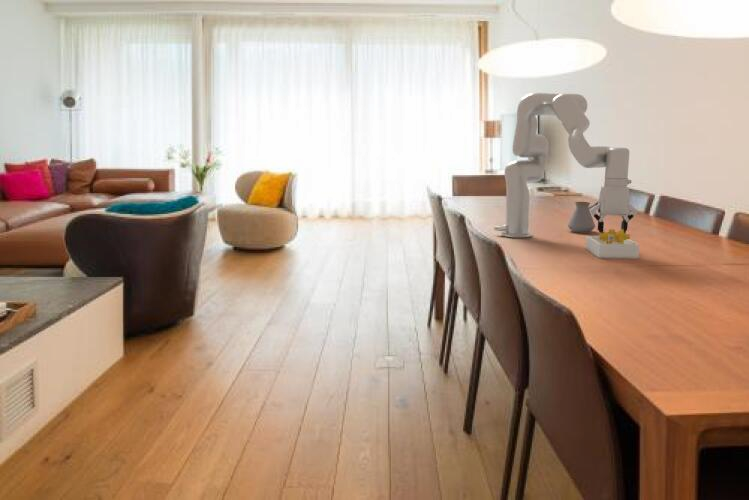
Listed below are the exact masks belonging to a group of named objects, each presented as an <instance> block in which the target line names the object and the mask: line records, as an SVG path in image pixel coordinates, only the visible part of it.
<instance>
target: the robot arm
mask: <svg viewBox="0 0 749 500" xmlns="http://www.w3.org/2000/svg"><path fill="white" fill-rule="evenodd" d="M587 109H588V101H587V99H586V97H584V96H583V95H582V94H579V93H549V92H548V93H547V92H533V93H528V94H526V95H524V96H523V97H522V98H521V99H520V101H519V102H518V105H517V110H516V124H515V128H514V129H515V130H514V136H513V141H512V153H513V155H514V157H517V158H527V159H518V160H513V161H510V162H509V163H508V164H506V166H505V168H504V180H505V187H506V196H505V197H506V198H505V199H506V201H505V223H504V224H503V225H500V226H499V225H494V226H493V231H494V232H495V231H496V232H497V231H498V232H501V236H503V237H507V238H514V239H515V238H519V239H520V238H523V239H524V238H531V237H532V235H533V234H532V232H531V231H529V219H530V218H529V216H530V198H531V197H530V195H531V194H530V190H529V187H528V185H527V184H529V183H530V184H532V183H537V182H539V181H541V180H542V179H543V177H544V176H545V170H546V165H547V161H548V156H549V150H550V149H549V148H550V145H549V141H548V138H547V137H546V136H545V135H543V134H539V133H537V131H538V127H539V126H538V125H539V124H538V120H537V117H536V116H556V118H557V120H559V122H560V124H561V125H562V126H563V128H564V130H566V132H567V134H568V140H567V143H568V148H569V151H570V154H571V155H572V156H573V157H574V159H575V161H576V162H577V163H578V164H579V165H580V166H581V167H583V168H586V169H594V168H605V169H604V170H605V171H604V173H605V174H604V182H603V183H604V184H603V186H601V188H600V191H599V196H598V201H597V202H598V205H596V206H594V207H592V208H591V209H589V210H590V213H591V216H592V217H594V218H595V220H596V221H597V231H598V233H599V234H602V233H603V232H604V224H605V223H604V219H605V218H606V217H607V216H621V218H622V220H621V224H620V225H621V227H620V229H623V230H624V233H626V232H627V231H628V223H629V222H630V221H631V220H632V219H633V218H634V216H635V215H636V214H637V213H638V209H636V208H635V207H634V206H632V204H631V197H630V196H631V195H630V188H629V186H628V185H629V184H632V180H631V179H629V178H628V177H629V166H630V165H629V163H630V150H629V148H626V147H611V146H603V145H602V146H591V145H590V144H589V142H588V141H587V140H586V137H585V136H584V133H585V132H586V131H587V130H588V129H589V128H590V124H591V123H590V120H589V118H588V116H587V115H586V114H585V113H586V112H587ZM630 211H631V212H630ZM597 212H598V213H597ZM598 214H599V215H598ZM626 234H627V233H626Z"/></svg>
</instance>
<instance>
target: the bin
mask: <svg viewBox="0 0 749 500" xmlns="http://www.w3.org/2000/svg"><path fill="white" fill-rule="evenodd" d="M606 243H607V242H603V241H602V240H600V235H586V236H585V250H586V251H588V252H589V253H590V254H592V255H593V256H595V257H596V258H598V259H607V260H609V259H616V260H617V259H619V260H621V259H622V260H623V259H625V260H626V259H627V260H628V259H629V260H630V259H633V260H639V258H640V257H639V254H640V243H637V242H636V241H633V240H632V239H631V238H630V239H626V240H624V244H618V242H616V241H614V242H612V244H606Z"/></svg>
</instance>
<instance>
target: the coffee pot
mask: <svg viewBox="0 0 749 500" xmlns="http://www.w3.org/2000/svg"><path fill="white" fill-rule="evenodd" d="M574 204H575V206H576V207H575V208H574V211H573V213H572V215H571V216H570V219H569V221H568V223H567V226H568V229H569V230H571V232H572V233H575V234H576V233H578V234H587V233H588V234H589V233H591V231H594V229H595V228H596V224H595V221H594V219H593V215H592V213H591V212H590V210H591V209H592V208H594V207H595V206H596V205H598V201H597V202H595V203H594V204H592V205H591V202H587V201H576V202H574Z"/></svg>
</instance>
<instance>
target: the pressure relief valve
mask: <svg viewBox="0 0 749 500" xmlns="http://www.w3.org/2000/svg"><path fill="white" fill-rule="evenodd" d="M599 236H600V240H602V241H603V242H607V243H606V244H612V242H614V241H616V242H618V244H624V240H626V239H630V240H631V234H630V233H629V234H627V233H624V230H623V229H621V228H619V229H617V231H616V229H614V228H610V229H608V231H603V233H599Z"/></svg>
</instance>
